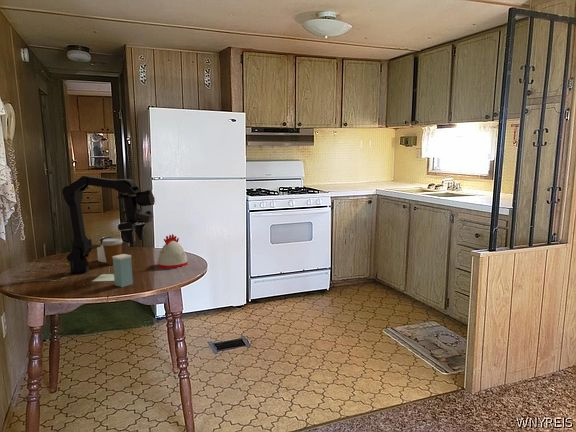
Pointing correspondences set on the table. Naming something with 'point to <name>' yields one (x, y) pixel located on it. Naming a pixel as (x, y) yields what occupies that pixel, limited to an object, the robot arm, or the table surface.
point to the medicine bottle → (102, 251)
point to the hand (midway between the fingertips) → (136, 242)
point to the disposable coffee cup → (112, 248)
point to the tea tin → (122, 270)
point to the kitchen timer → (172, 254)
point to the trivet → (104, 278)
